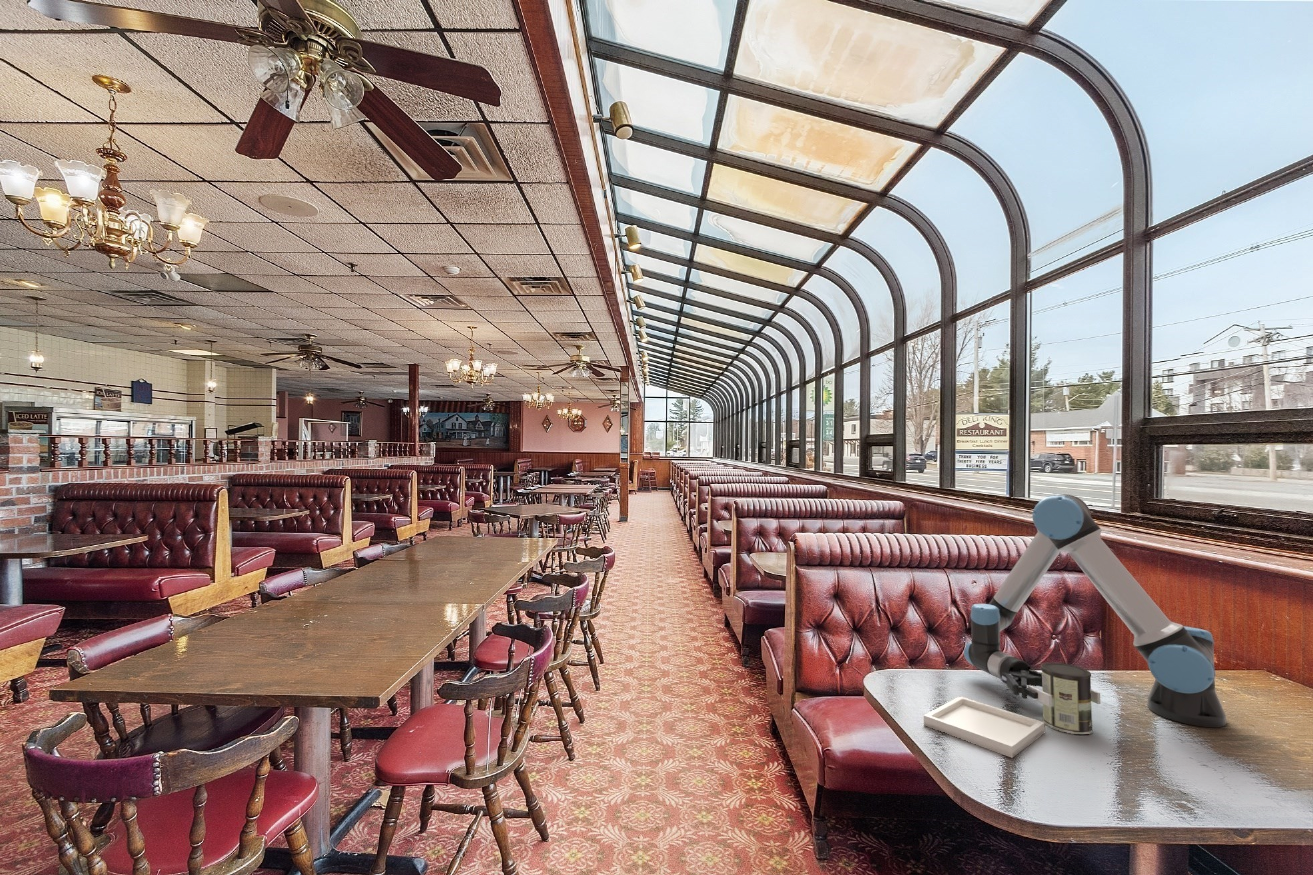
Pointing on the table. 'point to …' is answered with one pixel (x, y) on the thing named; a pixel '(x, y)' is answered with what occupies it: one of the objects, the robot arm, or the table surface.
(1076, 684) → the coffee can
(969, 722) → the serving tray
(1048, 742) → the table surface
